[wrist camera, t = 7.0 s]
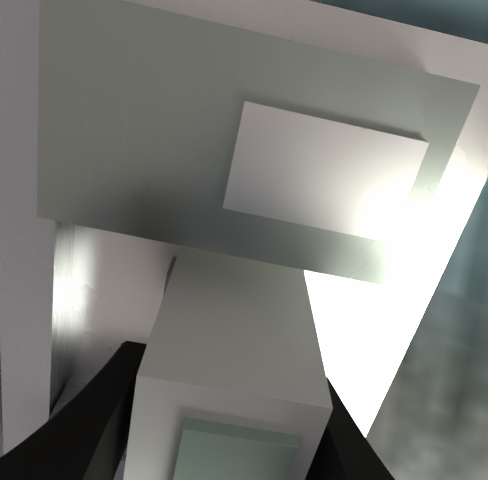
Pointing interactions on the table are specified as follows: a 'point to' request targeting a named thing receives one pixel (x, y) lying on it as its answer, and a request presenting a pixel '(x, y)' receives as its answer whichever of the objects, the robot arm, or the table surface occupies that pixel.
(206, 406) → the block
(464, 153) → the board
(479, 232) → the table surface
